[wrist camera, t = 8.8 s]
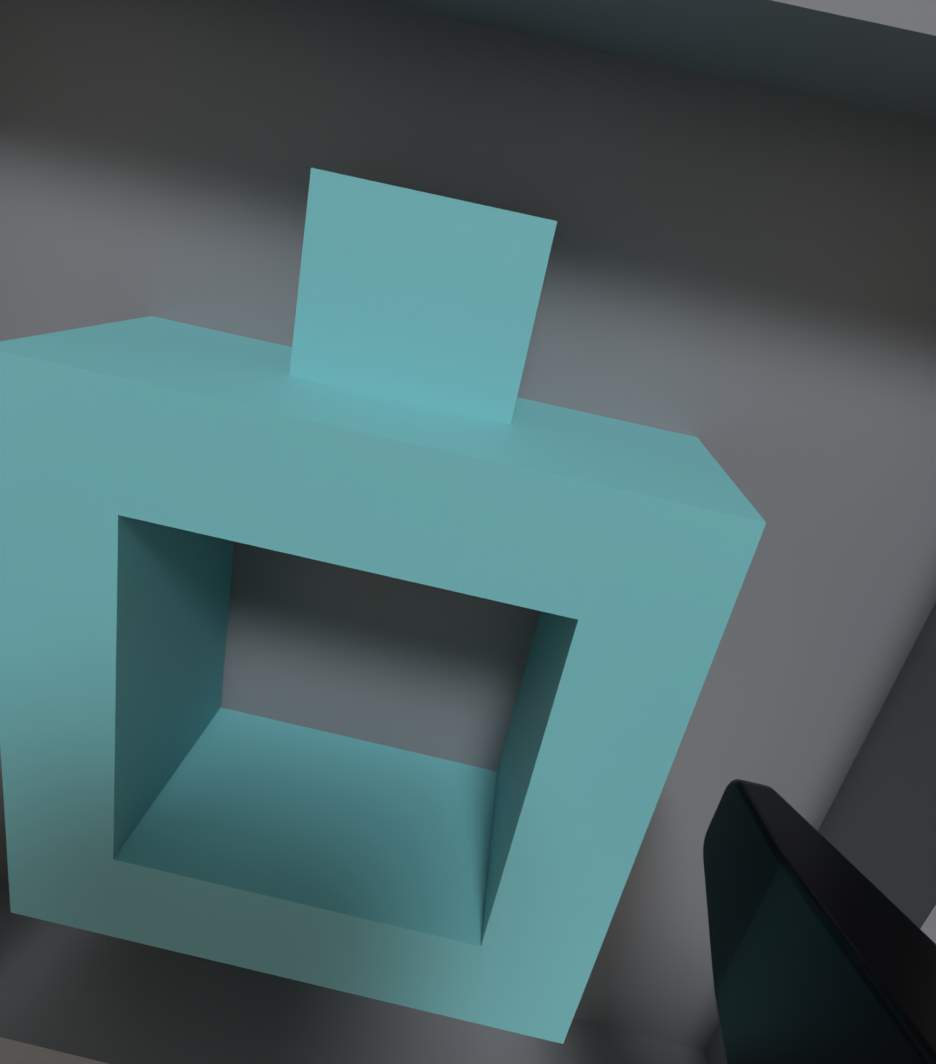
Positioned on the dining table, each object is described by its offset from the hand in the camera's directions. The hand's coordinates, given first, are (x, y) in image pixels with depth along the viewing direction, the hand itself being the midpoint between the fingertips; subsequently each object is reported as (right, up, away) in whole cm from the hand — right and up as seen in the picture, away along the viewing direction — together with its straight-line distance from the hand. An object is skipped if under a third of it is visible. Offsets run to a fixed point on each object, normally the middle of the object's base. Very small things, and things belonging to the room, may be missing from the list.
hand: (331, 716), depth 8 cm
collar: (0, +1, +2) cm, 2 cm away
